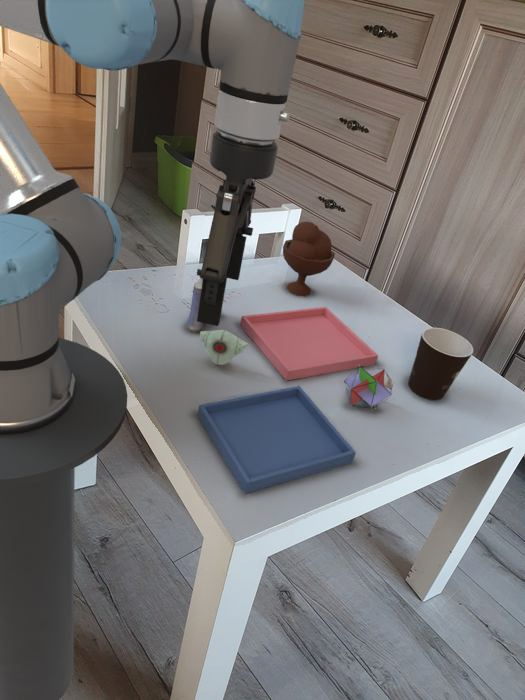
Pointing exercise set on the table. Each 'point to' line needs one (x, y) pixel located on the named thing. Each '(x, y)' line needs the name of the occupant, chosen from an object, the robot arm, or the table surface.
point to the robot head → (221, 345)
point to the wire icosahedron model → (369, 387)
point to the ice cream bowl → (307, 255)
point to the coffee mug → (438, 362)
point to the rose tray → (307, 342)
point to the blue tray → (274, 437)
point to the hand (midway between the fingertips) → (219, 298)
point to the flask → (195, 309)
